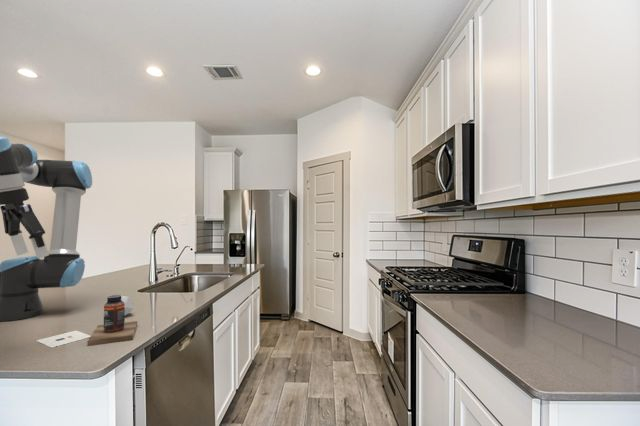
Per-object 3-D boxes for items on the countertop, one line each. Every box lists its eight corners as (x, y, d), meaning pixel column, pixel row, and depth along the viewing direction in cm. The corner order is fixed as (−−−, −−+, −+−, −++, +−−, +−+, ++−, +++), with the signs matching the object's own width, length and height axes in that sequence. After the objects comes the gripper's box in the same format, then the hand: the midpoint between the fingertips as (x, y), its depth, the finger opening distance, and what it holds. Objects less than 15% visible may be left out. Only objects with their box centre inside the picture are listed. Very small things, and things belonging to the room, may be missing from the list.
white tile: (36, 340, 102) (36, 340, 102) (76, 330, 112) (76, 330, 112) (51, 347, 97) (51, 347, 97) (92, 336, 106) (92, 336, 106)
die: (138, 316, 131) (136, 294, 136) (125, 311, 123) (124, 288, 128) (117, 324, 130) (116, 302, 135) (103, 319, 122) (103, 296, 127)
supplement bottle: (127, 326, 112) (127, 293, 112) (120, 332, 106) (121, 297, 106) (108, 327, 111) (108, 294, 111) (100, 333, 105) (100, 298, 105)
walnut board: (98, 329, 113) (98, 325, 113) (137, 325, 118) (137, 320, 118) (87, 345, 99) (87, 340, 99) (132, 339, 104) (132, 335, 104)
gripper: (-25, 193, 100) (0, 257, 105) (11, 191, 88) (37, 263, 93) (6, 188, 106) (28, 248, 111) (44, 185, 94) (66, 253, 100)
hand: (32, 255), depth 102 cm, fingers open, 13 cm apart
